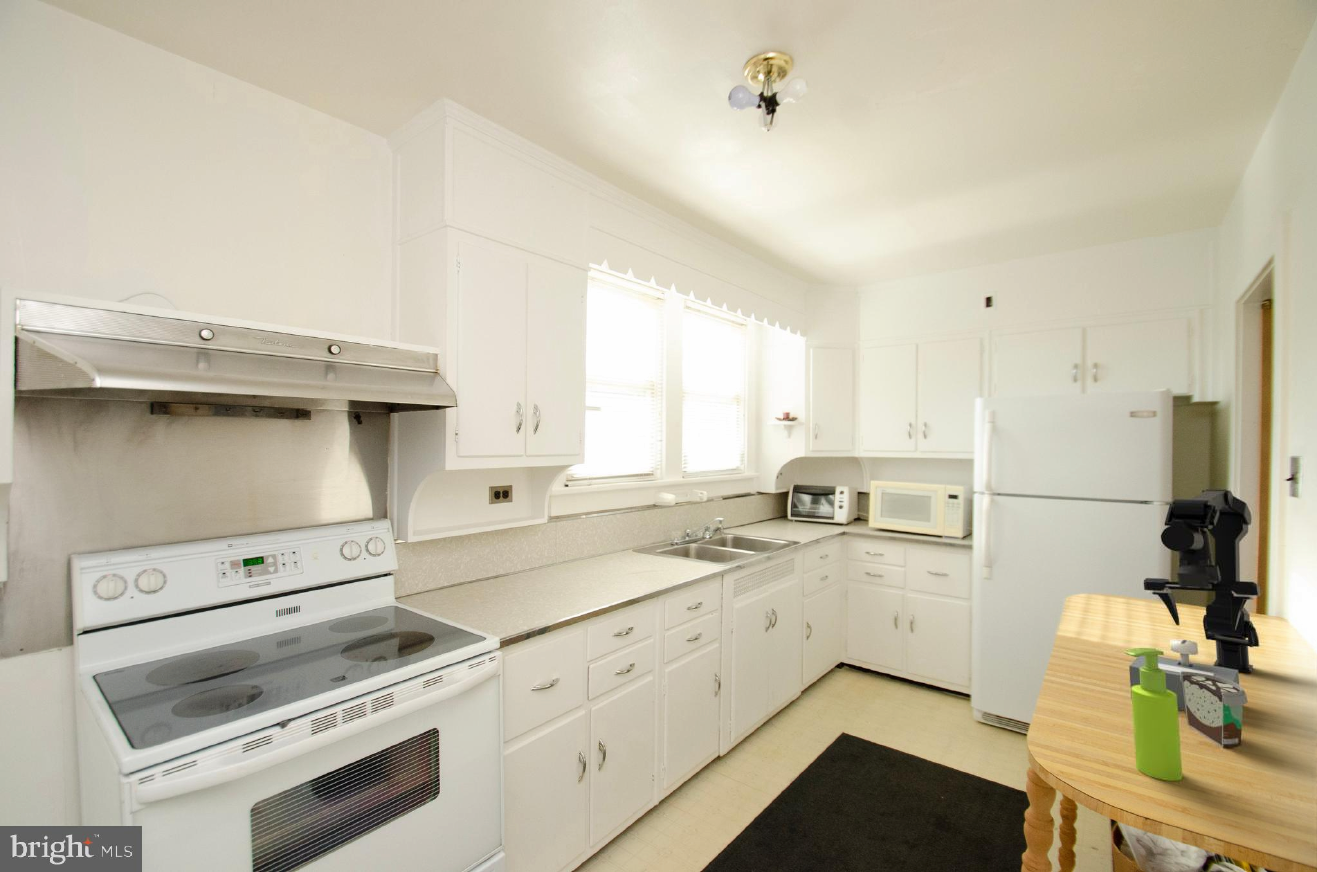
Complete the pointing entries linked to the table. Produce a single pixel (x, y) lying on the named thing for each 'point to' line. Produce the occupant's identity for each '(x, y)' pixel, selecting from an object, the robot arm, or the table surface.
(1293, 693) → the table surface
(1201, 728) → the food container
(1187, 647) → the knob
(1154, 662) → the soap dispenser
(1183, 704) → the console
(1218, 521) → the robot arm
